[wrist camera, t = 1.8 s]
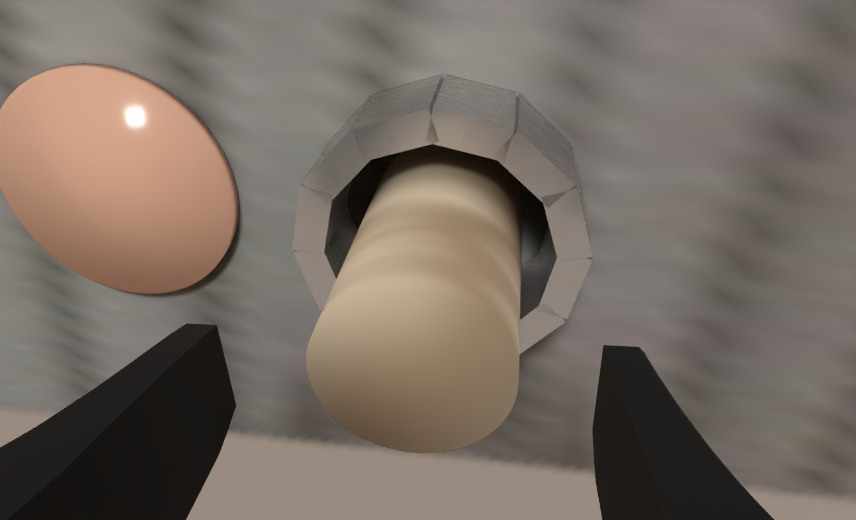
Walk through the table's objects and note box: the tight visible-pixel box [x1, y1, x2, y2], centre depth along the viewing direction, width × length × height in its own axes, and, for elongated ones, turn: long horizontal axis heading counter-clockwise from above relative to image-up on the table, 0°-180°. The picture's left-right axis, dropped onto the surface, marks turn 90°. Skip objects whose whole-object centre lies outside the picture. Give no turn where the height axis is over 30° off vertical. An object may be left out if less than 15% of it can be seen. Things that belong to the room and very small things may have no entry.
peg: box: [306, 144, 522, 453], centre depth 16 cm, size 4×4×7 cm
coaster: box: [0, 63, 239, 294], centre depth 19 cm, size 7×7×1 cm
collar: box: [292, 75, 593, 355], centre depth 17 cm, size 7×7×2 cm
